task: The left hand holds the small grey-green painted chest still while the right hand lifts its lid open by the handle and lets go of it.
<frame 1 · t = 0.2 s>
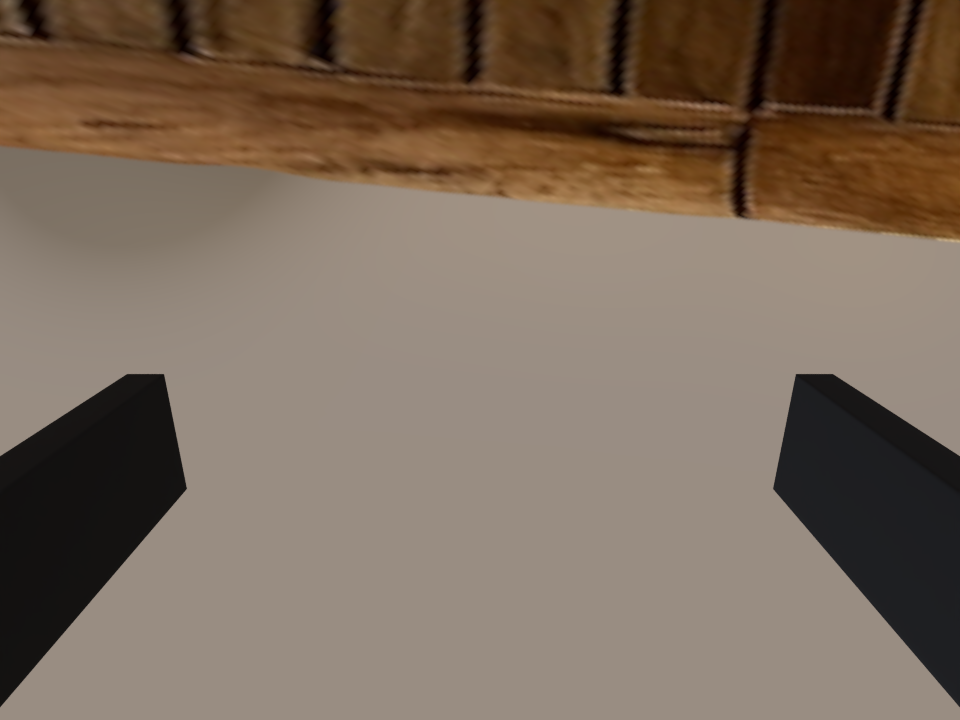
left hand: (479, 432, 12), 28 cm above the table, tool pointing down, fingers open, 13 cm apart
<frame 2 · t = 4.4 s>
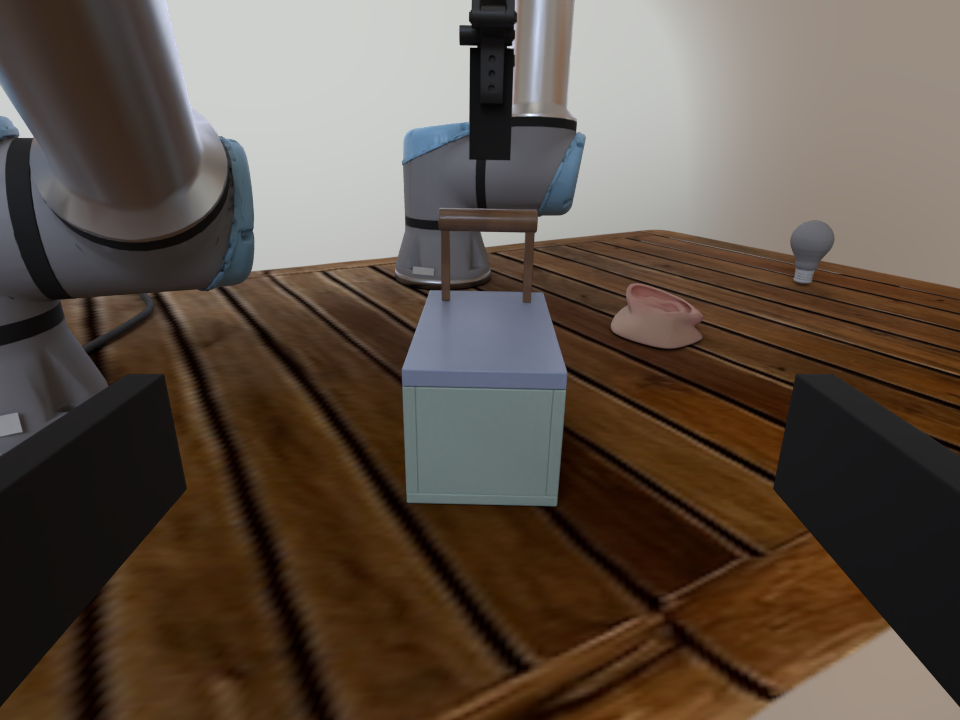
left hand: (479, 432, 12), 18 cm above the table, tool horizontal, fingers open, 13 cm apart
lid: (486, 281, 43), point 13 cm above the table, hinge at 0.0°
anatomical model: (654, 330, 73), on the table
chest: (483, 440, 47), on the table
light bulb: (801, 284, 95), on the table
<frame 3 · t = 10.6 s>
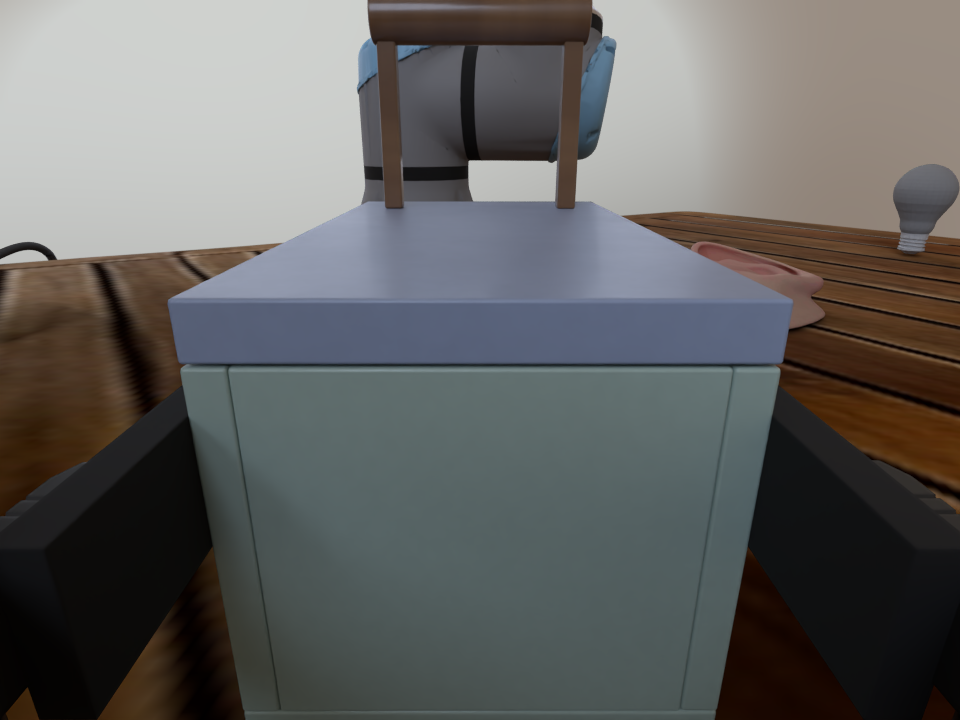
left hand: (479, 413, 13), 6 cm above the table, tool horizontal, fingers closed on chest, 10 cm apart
lid: (480, 112, 17), point 13 cm above the table, hinge at 0.0°
anatomical model: (741, 307, 47), on the table
chest: (479, 509, 21), on the table, touching left hand
light bulb: (909, 255, 69), on the table
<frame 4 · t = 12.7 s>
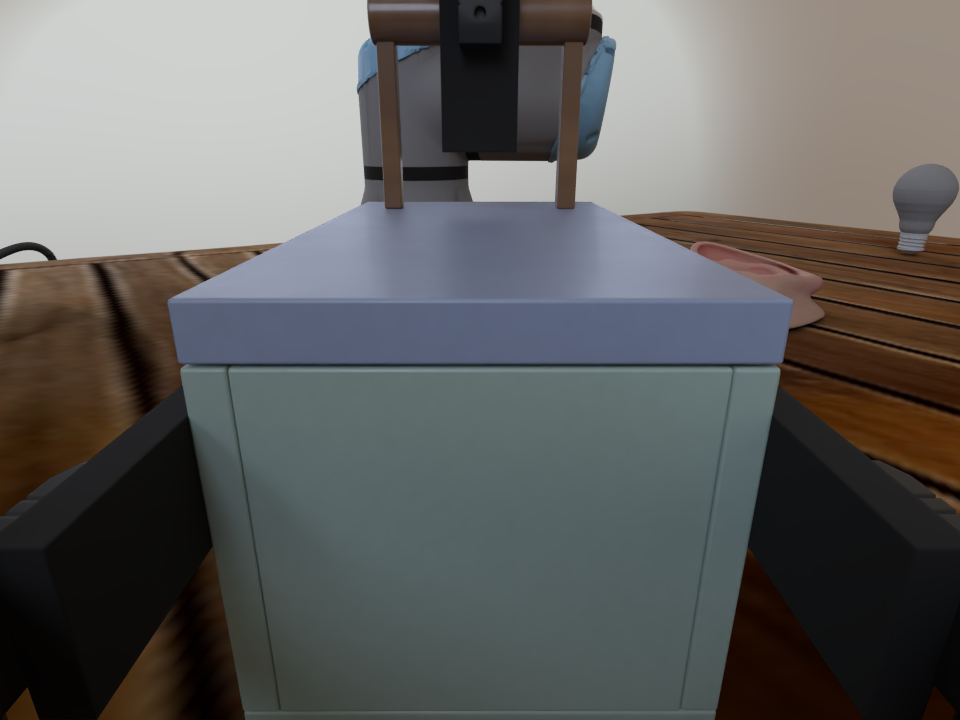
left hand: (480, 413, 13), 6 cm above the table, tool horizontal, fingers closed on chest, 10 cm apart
lid: (479, 112, 17), point 13 cm above the table, hinge at -0.1°, touching right hand
anatomical model: (741, 306, 47), on the table
chest: (479, 509, 21), on the table, touching left hand
light bulb: (908, 254, 69), on the table
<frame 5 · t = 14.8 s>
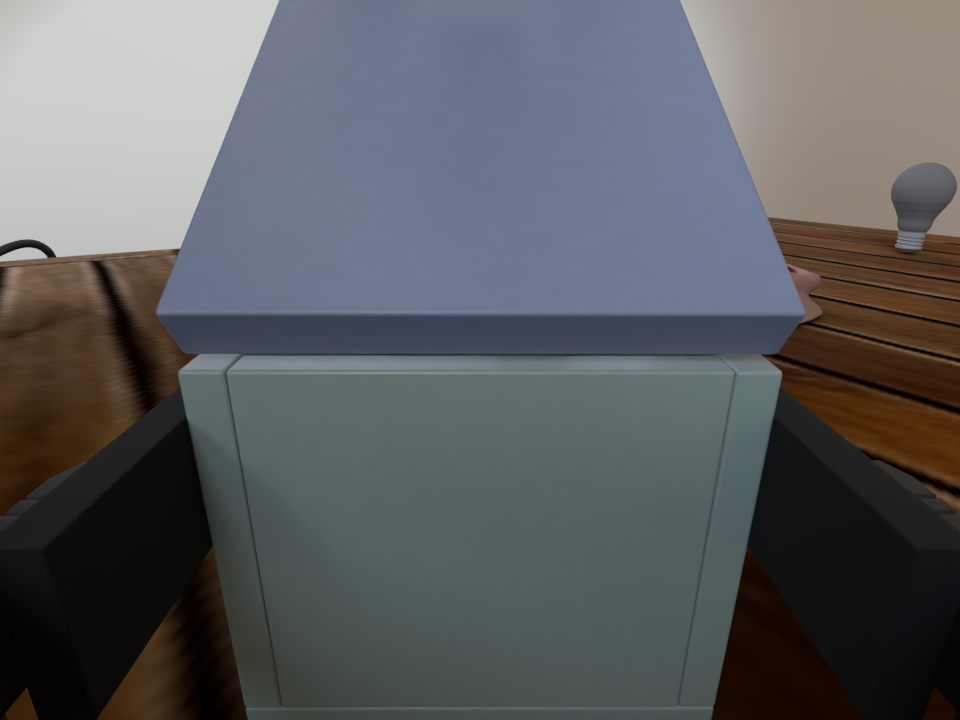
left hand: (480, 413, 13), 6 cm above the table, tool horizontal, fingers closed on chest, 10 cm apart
anatomical model: (740, 304, 47), on the table
chest: (479, 503, 21), on the table, touching left hand
light bulb: (907, 253, 70), on the table
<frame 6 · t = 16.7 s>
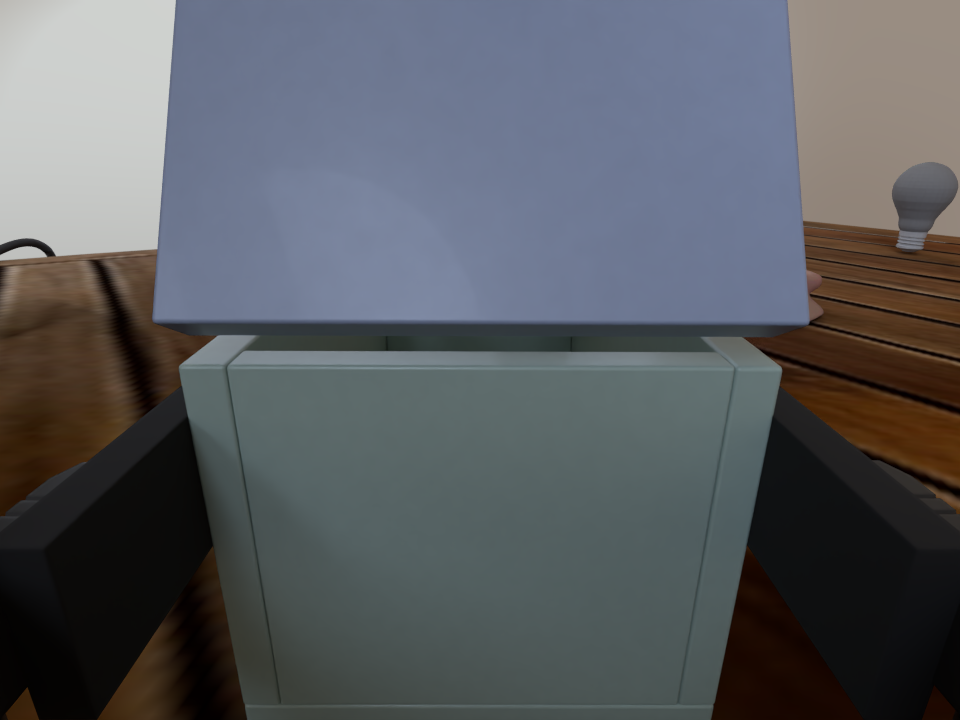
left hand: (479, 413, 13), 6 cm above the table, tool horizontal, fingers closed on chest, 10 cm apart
anatomical model: (740, 304, 47), on the table
chest: (479, 503, 21), on the table, touching left hand
light bulb: (908, 253, 69), on the table
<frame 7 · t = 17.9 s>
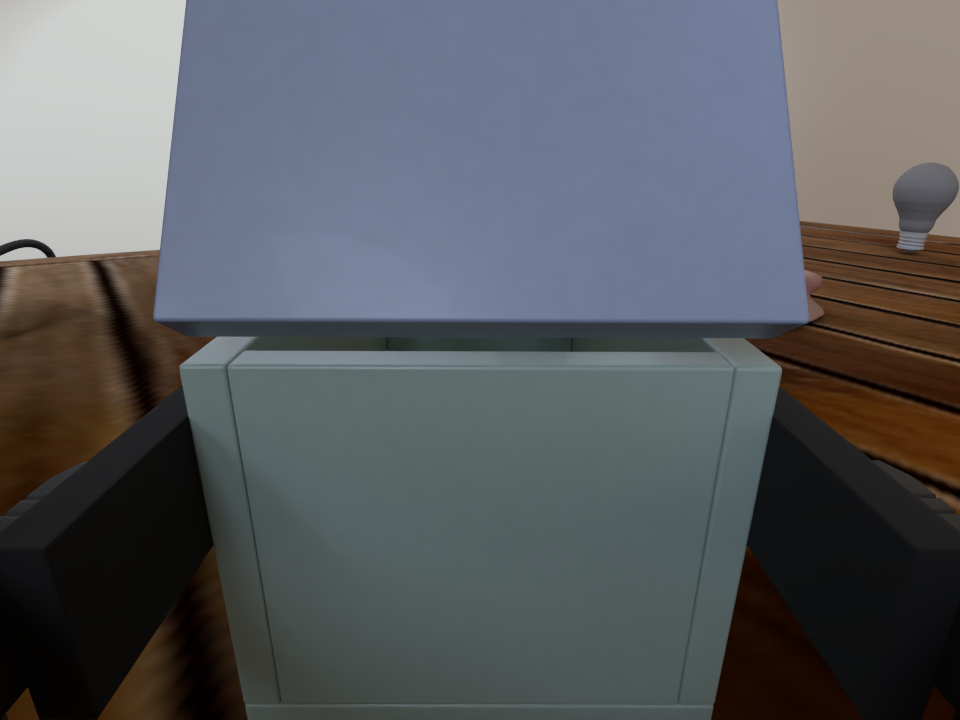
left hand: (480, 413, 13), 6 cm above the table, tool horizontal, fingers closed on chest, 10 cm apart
anatomical model: (741, 305, 47), on the table
chest: (479, 502, 21), on the table, touching left hand
light bulb: (908, 253, 69), on the table
when the left hand's fingers open (6 cm above the table, at t = 20.9 s): chest stays where it is, on the table.
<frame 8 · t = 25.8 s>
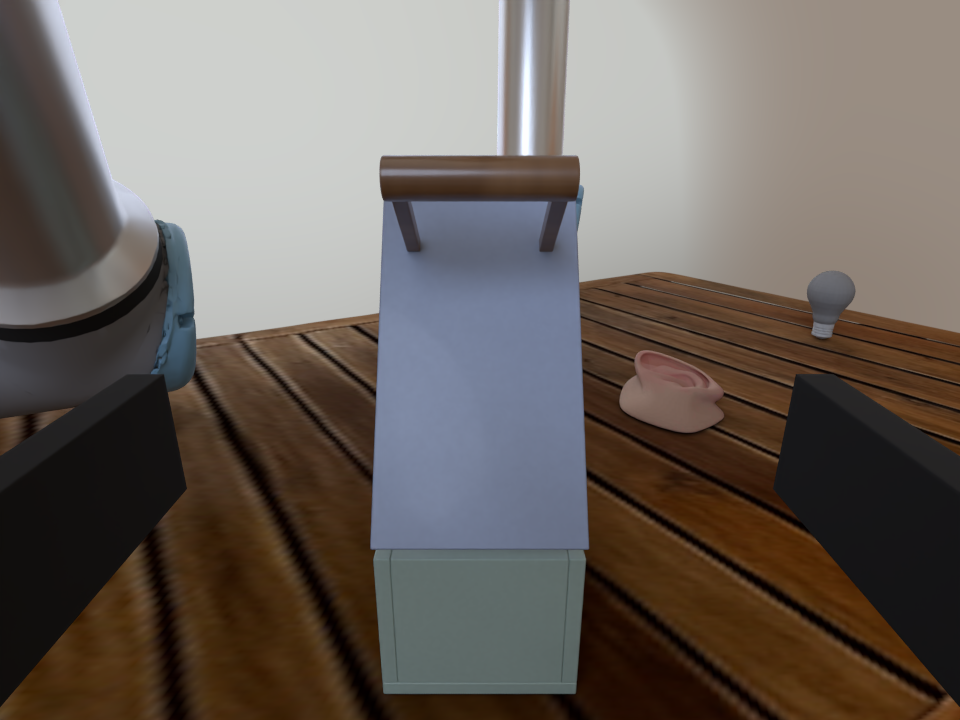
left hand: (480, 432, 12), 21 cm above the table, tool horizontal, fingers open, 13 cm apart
lid: (479, 343, 26), point 19 cm above the table, hinge at 57.7°
anatomical model: (669, 405, 65), on the table
chest: (479, 580, 39), on the table
light bulb: (820, 339, 87), on the table
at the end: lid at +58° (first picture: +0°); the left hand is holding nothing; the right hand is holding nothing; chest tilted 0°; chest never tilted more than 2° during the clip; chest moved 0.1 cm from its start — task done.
